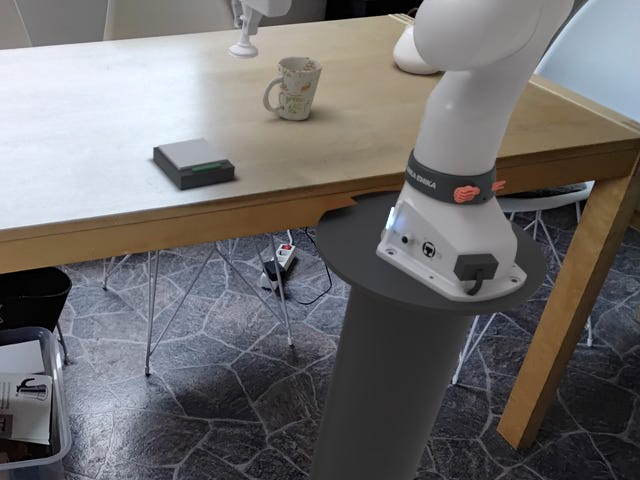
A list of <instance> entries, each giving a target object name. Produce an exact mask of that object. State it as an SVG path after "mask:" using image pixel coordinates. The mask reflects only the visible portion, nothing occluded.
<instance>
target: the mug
mask: <svg viewBox="0 0 640 480" xmlns="http://www.w3.org/2000/svg"><path fill="white" fill-rule="evenodd" d="M322 70H323V63H322V62H321V61H319V60H318V59H315V58H312V57H308V56H287V57H284V58H281V59H279V61H278V64H277V72H278V73H277V76H276V77H273V78H271V80H269V82H268V83H267V85H266V87H265V88H264V91H263V93H262V105H263V107H264V109H265V110H267V111H268V112H271V113H275V112H278V116H279V117H281V119H282V118H283V119H285V120H287V121H288V120H289V121H303V120H306V119H308V118H309V116H310V112H311V110H312V106H313V102H314V99H315V96H316V91H317V88H318V85H319V80H320V77H321V74H322ZM275 85H277V86H278V87H277V90H278V91H277V93H278V95H277V97H278V98H277V99H278V100H277V101H278V102H277V104H278V105H275V106H271V104H270V101H269V96H270V92H271V90H272V89H273V87H274V86H275Z"/></svg>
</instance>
